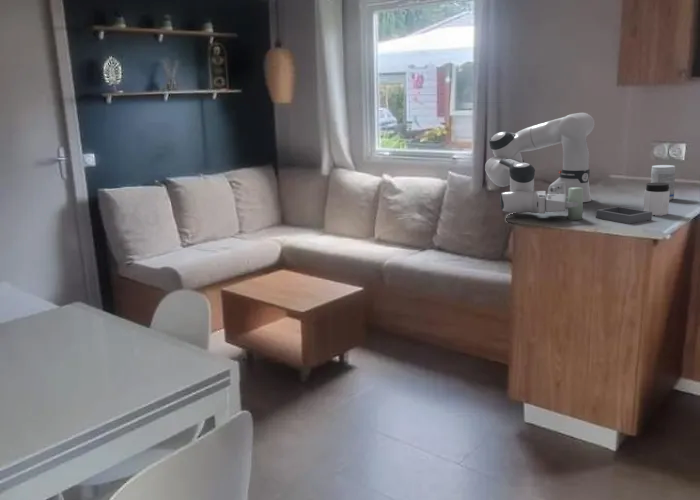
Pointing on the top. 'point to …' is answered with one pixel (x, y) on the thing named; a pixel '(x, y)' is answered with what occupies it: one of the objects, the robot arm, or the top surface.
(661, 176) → the supplement tub
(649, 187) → the jar
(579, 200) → the pale green cylinder
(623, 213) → the tray
